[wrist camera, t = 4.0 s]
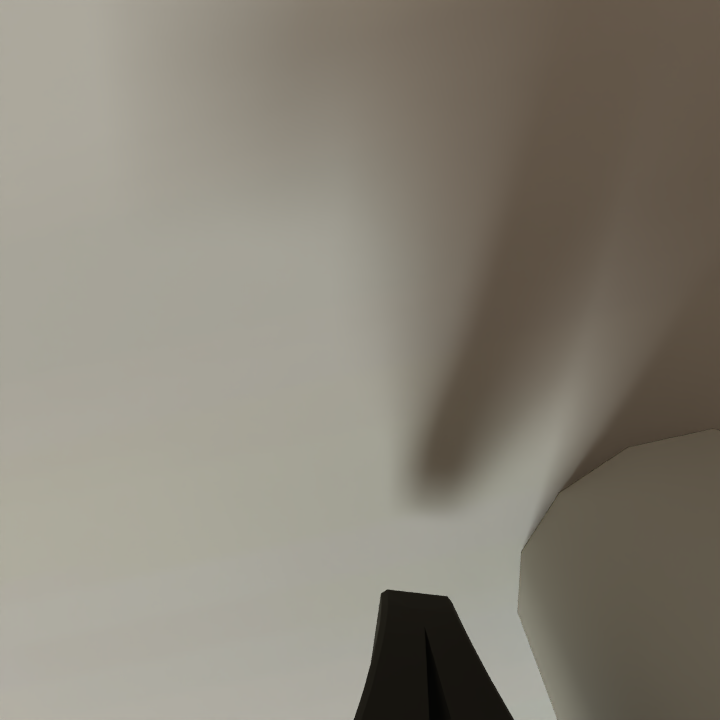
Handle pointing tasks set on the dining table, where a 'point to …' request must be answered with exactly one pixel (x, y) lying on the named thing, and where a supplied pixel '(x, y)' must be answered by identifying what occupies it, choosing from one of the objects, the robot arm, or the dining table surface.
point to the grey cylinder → (630, 586)
